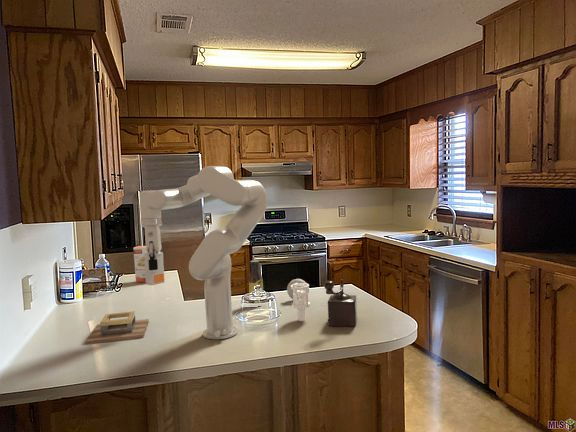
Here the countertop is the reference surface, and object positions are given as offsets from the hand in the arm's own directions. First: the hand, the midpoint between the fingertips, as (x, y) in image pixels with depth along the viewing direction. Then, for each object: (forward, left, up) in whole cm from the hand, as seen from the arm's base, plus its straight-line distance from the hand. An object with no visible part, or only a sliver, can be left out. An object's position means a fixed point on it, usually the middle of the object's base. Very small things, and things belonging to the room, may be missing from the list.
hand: (154, 267), depth 182 cm
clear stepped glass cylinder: (-10, -55, -24) cm, 61 cm away
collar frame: (0, +15, -23) cm, 27 cm away
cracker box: (+94, +13, -24) cm, 98 cm away
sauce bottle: (+19, -41, -24) cm, 51 cm away
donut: (+19, -60, -24) cm, 67 cm away
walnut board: (0, +15, -24) cm, 28 cm away
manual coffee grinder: (-21, -68, -24) cm, 75 cm away
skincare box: (0, 0, -7) cm, 7 cm away
